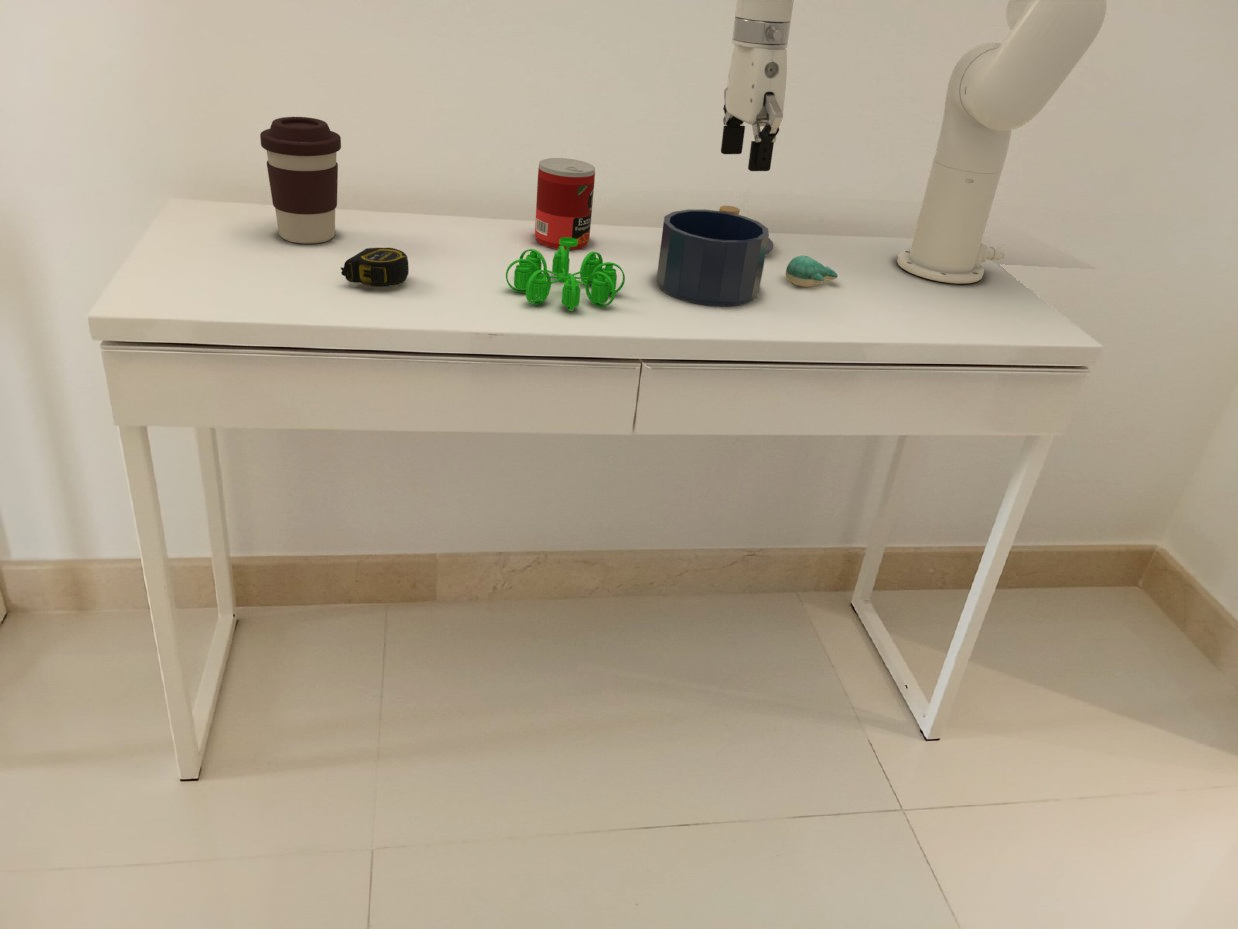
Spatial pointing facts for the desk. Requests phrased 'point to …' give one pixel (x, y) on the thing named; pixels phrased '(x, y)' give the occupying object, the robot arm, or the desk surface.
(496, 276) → the desk surface
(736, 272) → the tin
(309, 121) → the coffee cup
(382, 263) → the tape measure
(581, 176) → the canned food
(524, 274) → the chandelier
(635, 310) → the desk surface
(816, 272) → the whale figurine
